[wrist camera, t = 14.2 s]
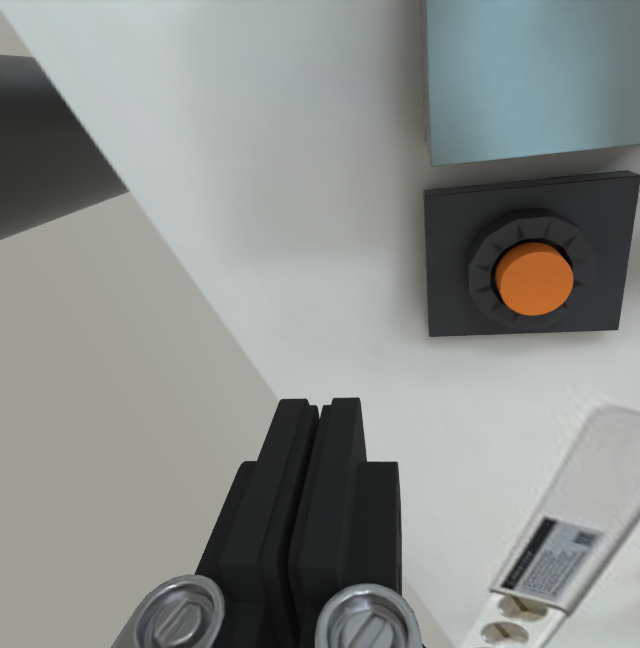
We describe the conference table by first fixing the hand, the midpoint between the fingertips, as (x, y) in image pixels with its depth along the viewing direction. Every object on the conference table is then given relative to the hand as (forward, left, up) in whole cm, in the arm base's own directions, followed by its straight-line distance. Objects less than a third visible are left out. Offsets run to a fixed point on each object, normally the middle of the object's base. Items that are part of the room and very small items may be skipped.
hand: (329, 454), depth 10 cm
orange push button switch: (+8, -3, -22) cm, 24 cm away
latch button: (+8, -3, -19) cm, 21 cm away
